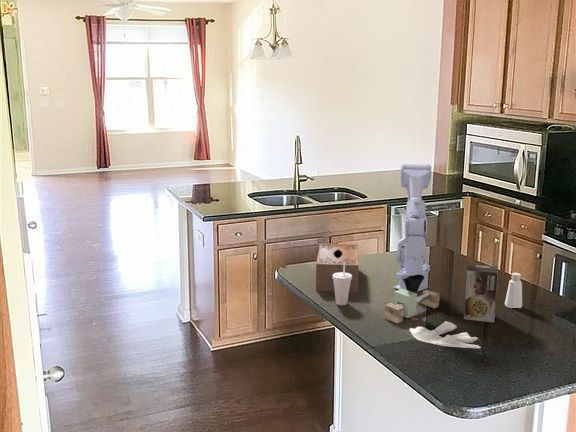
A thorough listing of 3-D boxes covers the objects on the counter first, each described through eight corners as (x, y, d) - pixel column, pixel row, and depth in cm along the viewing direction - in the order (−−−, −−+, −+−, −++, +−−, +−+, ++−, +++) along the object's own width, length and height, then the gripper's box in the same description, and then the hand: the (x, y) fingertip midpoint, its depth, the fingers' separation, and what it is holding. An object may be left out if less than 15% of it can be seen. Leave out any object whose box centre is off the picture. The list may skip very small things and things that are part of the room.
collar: (401, 309, 193) (402, 288, 192) (415, 314, 189) (417, 293, 187) (393, 312, 191) (394, 291, 189) (407, 318, 186) (408, 296, 185)
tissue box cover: (319, 268, 236) (319, 243, 234) (356, 269, 235) (357, 244, 232) (315, 291, 211) (316, 263, 209) (357, 293, 210) (358, 265, 207)
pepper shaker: (522, 304, 199) (526, 272, 197) (521, 310, 195) (524, 277, 192) (505, 301, 202) (508, 270, 199) (503, 307, 197) (506, 275, 194)
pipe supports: (419, 299, 203) (420, 287, 202) (445, 308, 196) (446, 295, 195) (378, 315, 189) (378, 302, 188) (404, 325, 182) (404, 312, 181)
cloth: (398, 330, 181) (398, 322, 180) (457, 318, 189) (458, 311, 189) (442, 359, 163) (442, 351, 162) (505, 345, 171) (505, 337, 171)
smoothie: (350, 307, 196) (351, 266, 193) (330, 305, 197) (331, 264, 194) (352, 300, 202) (353, 260, 199) (333, 298, 203) (333, 258, 200)
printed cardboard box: (494, 315, 190) (499, 266, 187) (494, 323, 184) (498, 272, 181) (464, 311, 193) (468, 263, 189) (463, 319, 187) (466, 269, 184)
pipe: (429, 296, 200) (430, 290, 199) (435, 298, 198) (436, 292, 197) (388, 312, 186) (388, 305, 186) (394, 314, 184) (394, 308, 184)
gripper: (409, 263, 180) (407, 306, 183) (439, 254, 189) (436, 295, 193) (391, 258, 185) (389, 300, 188) (420, 249, 195) (418, 289, 198)
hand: (411, 297), depth 191 cm, fingers closed
